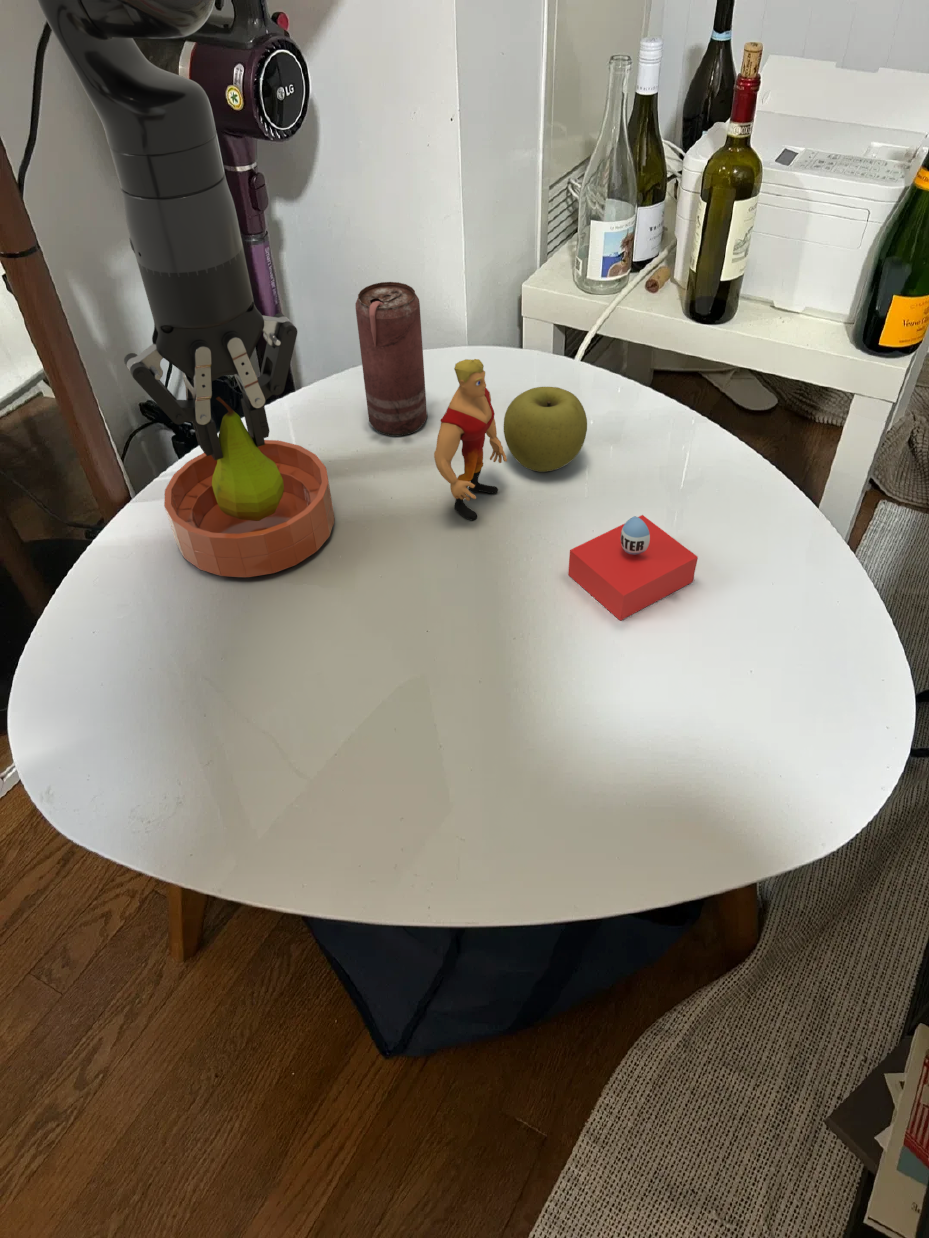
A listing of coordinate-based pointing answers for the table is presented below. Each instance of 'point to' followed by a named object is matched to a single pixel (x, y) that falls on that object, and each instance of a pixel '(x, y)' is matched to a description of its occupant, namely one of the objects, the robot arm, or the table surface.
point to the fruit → (244, 473)
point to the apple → (545, 428)
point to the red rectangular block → (632, 566)
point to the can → (392, 357)
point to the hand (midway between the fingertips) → (236, 447)
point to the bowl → (244, 542)
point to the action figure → (467, 435)
